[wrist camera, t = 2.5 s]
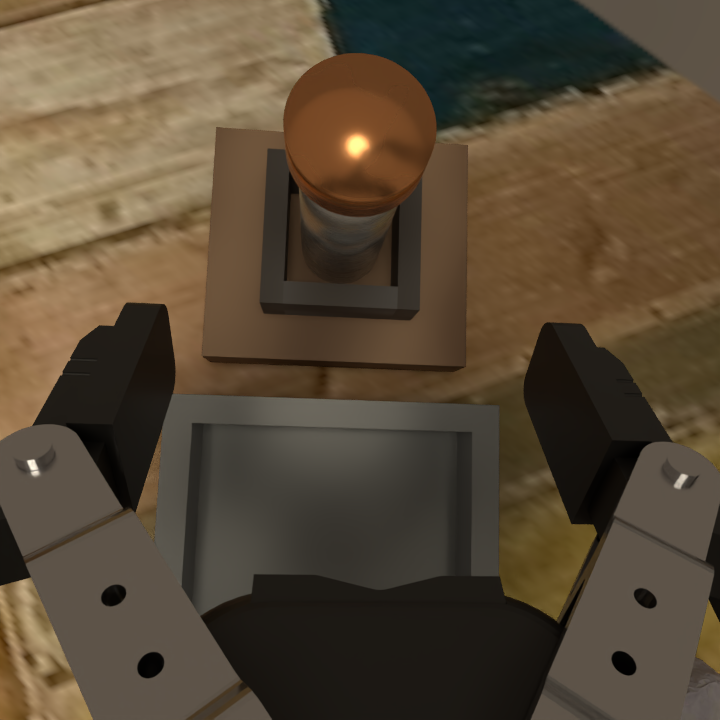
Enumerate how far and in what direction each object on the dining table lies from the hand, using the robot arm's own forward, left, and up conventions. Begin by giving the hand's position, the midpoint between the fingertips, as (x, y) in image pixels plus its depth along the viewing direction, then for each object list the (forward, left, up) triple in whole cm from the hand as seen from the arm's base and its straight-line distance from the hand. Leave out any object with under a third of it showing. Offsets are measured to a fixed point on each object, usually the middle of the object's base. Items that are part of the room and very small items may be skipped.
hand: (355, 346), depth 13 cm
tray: (0, +7, -12) cm, 13 cm away
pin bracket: (0, -5, -12) cm, 13 cm away
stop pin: (0, -5, -10) cm, 11 cm away
